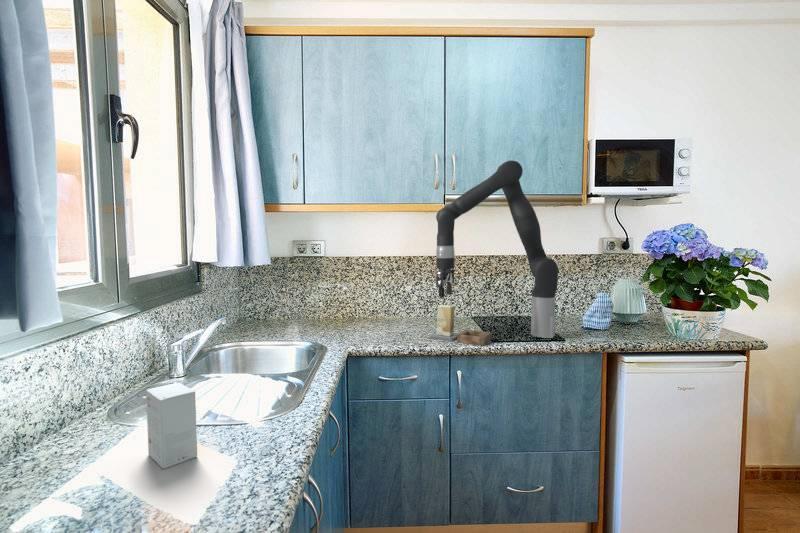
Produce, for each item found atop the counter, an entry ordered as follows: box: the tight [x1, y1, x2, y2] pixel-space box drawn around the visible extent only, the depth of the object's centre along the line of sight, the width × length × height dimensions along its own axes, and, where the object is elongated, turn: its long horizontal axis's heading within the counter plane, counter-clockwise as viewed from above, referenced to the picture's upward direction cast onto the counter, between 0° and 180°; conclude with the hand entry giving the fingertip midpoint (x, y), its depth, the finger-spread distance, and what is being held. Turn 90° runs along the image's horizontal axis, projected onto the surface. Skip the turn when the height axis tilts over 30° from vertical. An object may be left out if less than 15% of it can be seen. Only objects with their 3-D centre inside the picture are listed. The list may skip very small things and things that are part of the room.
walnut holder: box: [456, 329, 492, 347], centre depth 175 cm, size 11×11×3 cm
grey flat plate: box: [428, 331, 460, 342], centre depth 182 cm, size 10×10×1 cm
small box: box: [145, 381, 198, 470], centre depth 84 cm, size 8×6×13 cm
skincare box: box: [436, 304, 456, 336], centre depth 181 cm, size 6×4×12 cm
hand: (445, 295), depth 181 cm, fingers open, 8 cm apart
